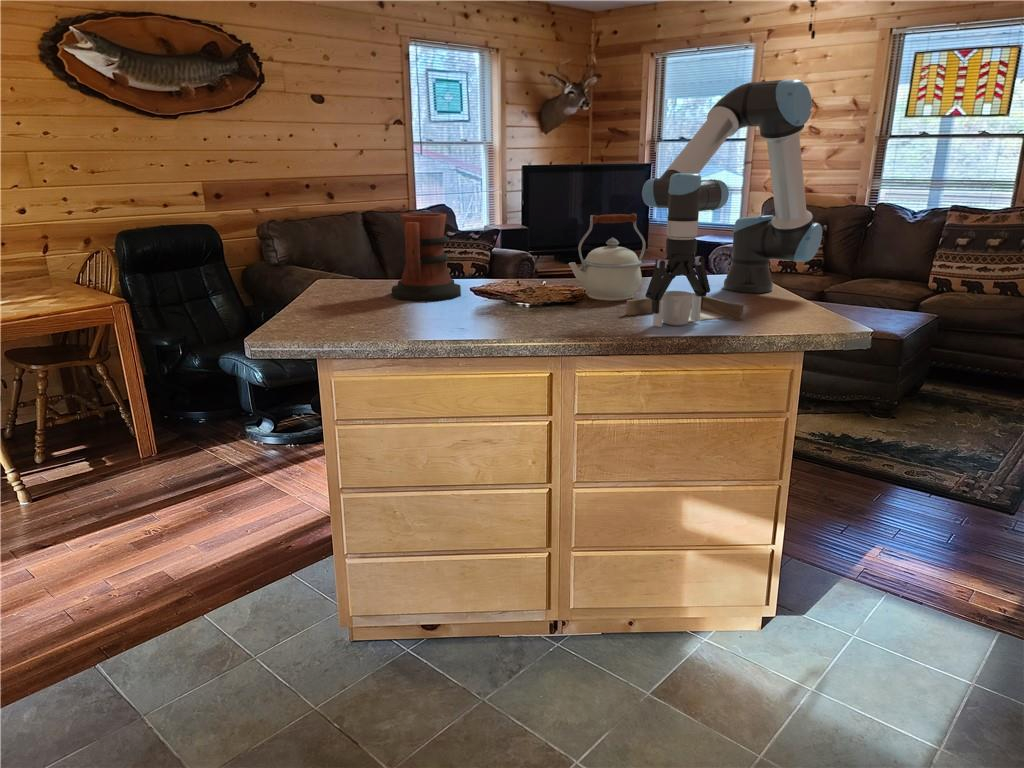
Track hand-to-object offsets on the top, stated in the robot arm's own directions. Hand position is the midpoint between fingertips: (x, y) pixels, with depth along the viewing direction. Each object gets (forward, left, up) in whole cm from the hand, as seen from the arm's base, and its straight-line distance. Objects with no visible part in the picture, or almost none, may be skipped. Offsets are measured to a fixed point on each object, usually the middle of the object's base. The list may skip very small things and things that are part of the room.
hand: (676, 323), depth 189 cm
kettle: (-5, -40, -1) cm, 40 cm away
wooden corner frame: (-7, -6, 0) cm, 9 cm away
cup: (0, 0, -1) cm, 1 cm away
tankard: (+44, -67, -1) cm, 80 cm away
